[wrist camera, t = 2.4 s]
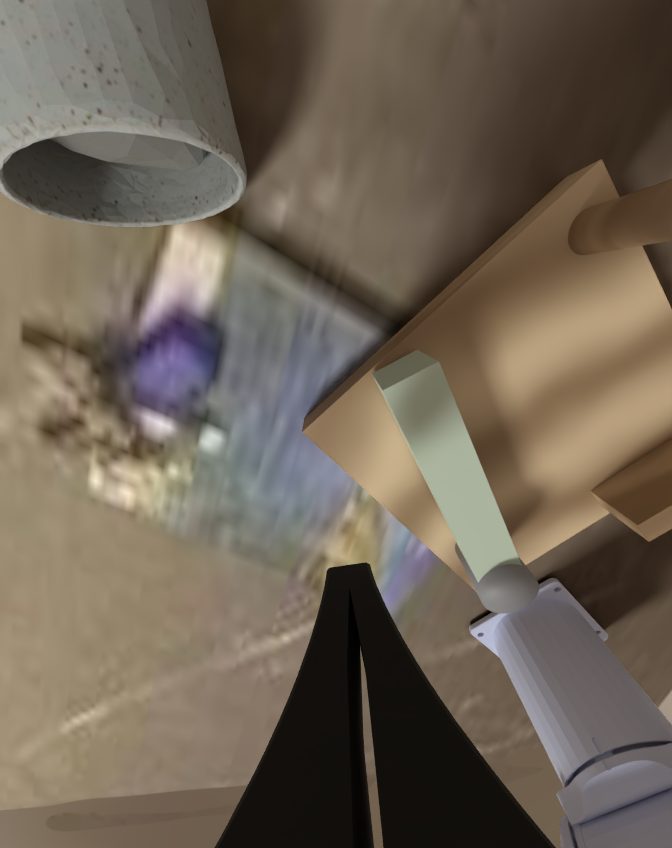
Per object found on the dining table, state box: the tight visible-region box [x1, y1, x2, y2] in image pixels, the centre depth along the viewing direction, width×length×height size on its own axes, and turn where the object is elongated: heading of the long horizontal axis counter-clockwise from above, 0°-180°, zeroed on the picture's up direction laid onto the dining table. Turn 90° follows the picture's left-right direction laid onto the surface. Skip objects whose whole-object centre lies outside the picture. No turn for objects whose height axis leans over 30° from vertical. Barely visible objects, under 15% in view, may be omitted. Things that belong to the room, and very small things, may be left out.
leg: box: [372, 350, 539, 614], centre depth 16 cm, size 14×3×4 cm, turn 28°
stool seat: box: [302, 159, 672, 591], centre depth 16 cm, size 17×17×6 cm
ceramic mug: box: [0, 0, 248, 227], centre depth 9 cm, size 11×8×8 cm
